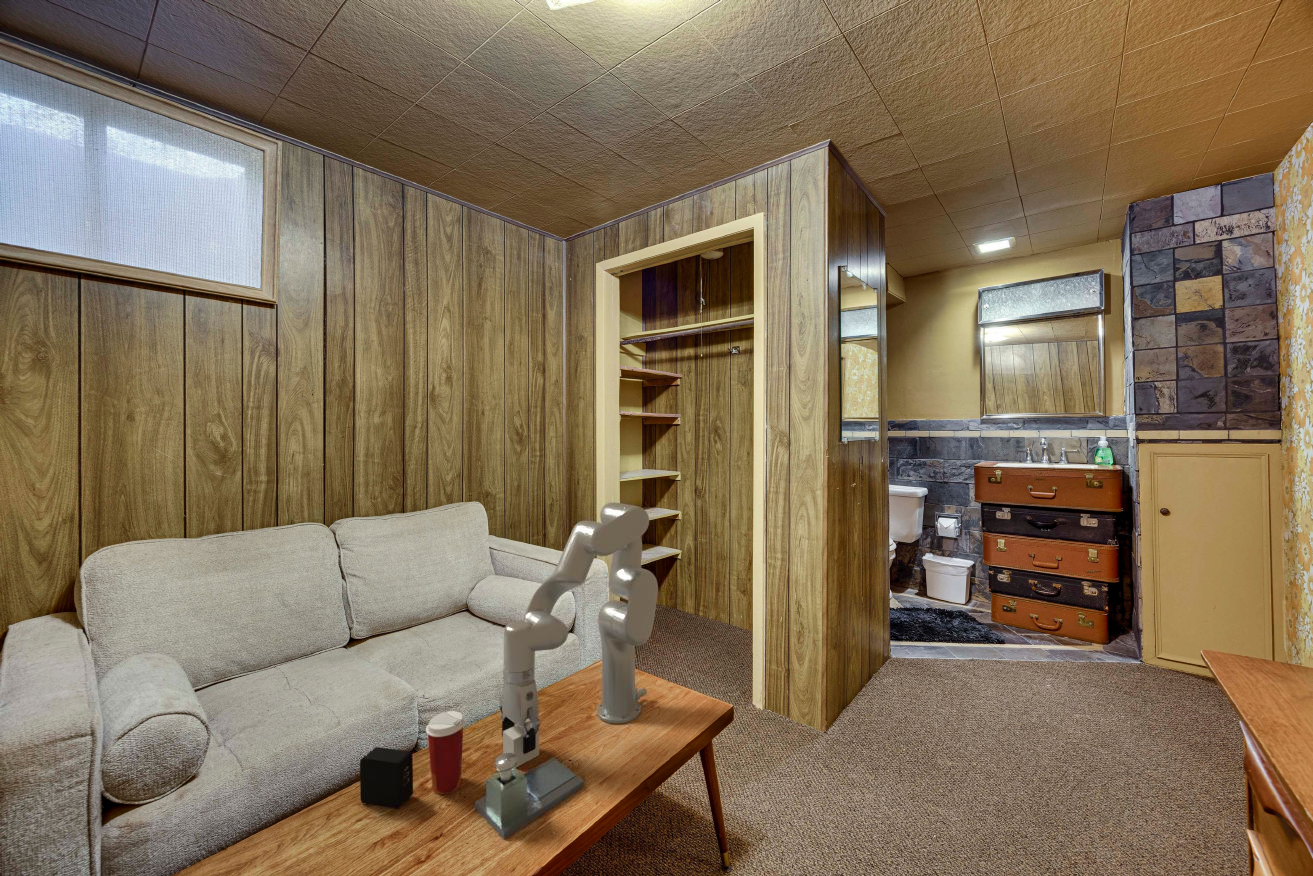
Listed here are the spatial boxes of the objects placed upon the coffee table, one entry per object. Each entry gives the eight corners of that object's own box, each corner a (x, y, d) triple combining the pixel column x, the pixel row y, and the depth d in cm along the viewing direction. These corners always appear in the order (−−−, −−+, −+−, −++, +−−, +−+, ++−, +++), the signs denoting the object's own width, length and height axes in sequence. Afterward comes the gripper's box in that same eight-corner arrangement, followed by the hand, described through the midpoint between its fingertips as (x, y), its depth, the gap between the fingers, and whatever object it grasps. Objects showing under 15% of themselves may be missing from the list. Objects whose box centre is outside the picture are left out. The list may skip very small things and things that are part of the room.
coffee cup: (473, 776, 117) (472, 713, 117) (448, 801, 109) (447, 733, 109) (444, 769, 120) (443, 707, 120) (418, 792, 112) (417, 726, 112)
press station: (553, 763, 122) (553, 730, 122) (584, 786, 113) (583, 751, 113) (475, 808, 107) (474, 771, 107) (504, 839, 99) (503, 799, 99)
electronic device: (400, 810, 107) (399, 763, 107) (360, 803, 109) (359, 758, 109) (413, 796, 111) (412, 751, 111) (374, 790, 113) (373, 746, 113)
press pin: (510, 777, 108) (510, 750, 108) (521, 787, 105) (521, 759, 105) (491, 788, 105) (491, 760, 105) (502, 798, 102) (501, 769, 102)
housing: (528, 746, 128) (527, 719, 128) (539, 755, 125) (538, 727, 125) (503, 759, 123) (503, 731, 123) (514, 768, 120) (513, 739, 120)
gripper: (552, 679, 121) (551, 751, 121) (514, 658, 133) (513, 723, 132) (524, 690, 115) (523, 765, 115) (487, 667, 127) (487, 734, 127)
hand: (518, 742), depth 124 cm, fingers open, 9 cm apart
